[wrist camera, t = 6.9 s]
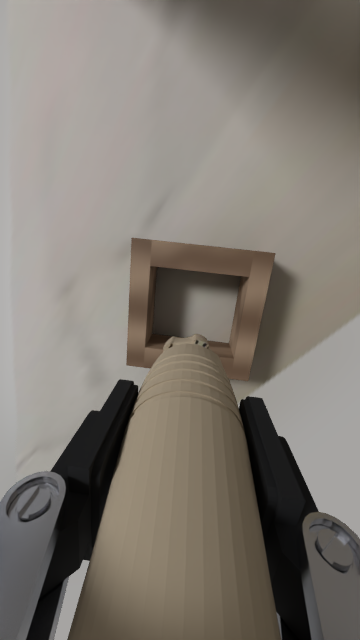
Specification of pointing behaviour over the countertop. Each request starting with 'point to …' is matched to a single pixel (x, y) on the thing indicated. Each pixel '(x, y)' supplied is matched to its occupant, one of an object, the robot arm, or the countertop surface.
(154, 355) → the square frame
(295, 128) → the countertop surface
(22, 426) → the countertop surface
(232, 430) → the handle
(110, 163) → the countertop surface
